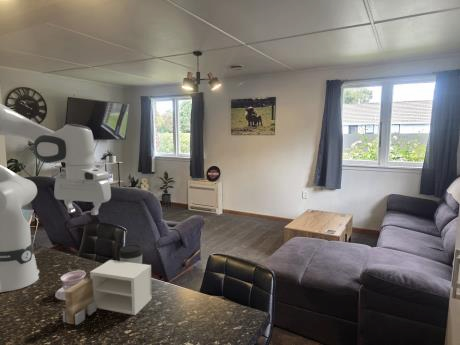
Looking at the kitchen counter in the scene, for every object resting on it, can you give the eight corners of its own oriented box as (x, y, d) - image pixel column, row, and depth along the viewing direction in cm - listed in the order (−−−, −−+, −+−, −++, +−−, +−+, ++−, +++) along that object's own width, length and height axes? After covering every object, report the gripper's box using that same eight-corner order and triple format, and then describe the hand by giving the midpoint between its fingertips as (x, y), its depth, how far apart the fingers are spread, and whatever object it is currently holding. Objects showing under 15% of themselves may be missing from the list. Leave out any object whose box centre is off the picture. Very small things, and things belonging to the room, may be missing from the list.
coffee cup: (136, 294, 106) (135, 253, 104) (115, 291, 107) (113, 251, 106) (147, 283, 114) (146, 245, 112) (127, 280, 115) (126, 243, 114)
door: (64, 322, 89) (62, 290, 88) (85, 307, 97) (83, 277, 96) (73, 324, 88) (71, 292, 87) (93, 308, 97) (92, 279, 95)
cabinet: (63, 321, 89) (60, 283, 88) (105, 290, 108) (104, 258, 106) (116, 333, 85) (115, 292, 83) (151, 298, 103) (150, 265, 101)
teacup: (72, 282, 114) (71, 266, 114) (100, 285, 112) (99, 270, 111) (46, 298, 103) (45, 281, 102) (77, 303, 100) (76, 285, 99)
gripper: (48, 173, 100) (50, 213, 101) (100, 175, 94) (102, 218, 96) (63, 171, 106) (65, 209, 107) (113, 173, 100) (114, 213, 102)
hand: (83, 213), depth 102 cm, fingers open, 8 cm apart
